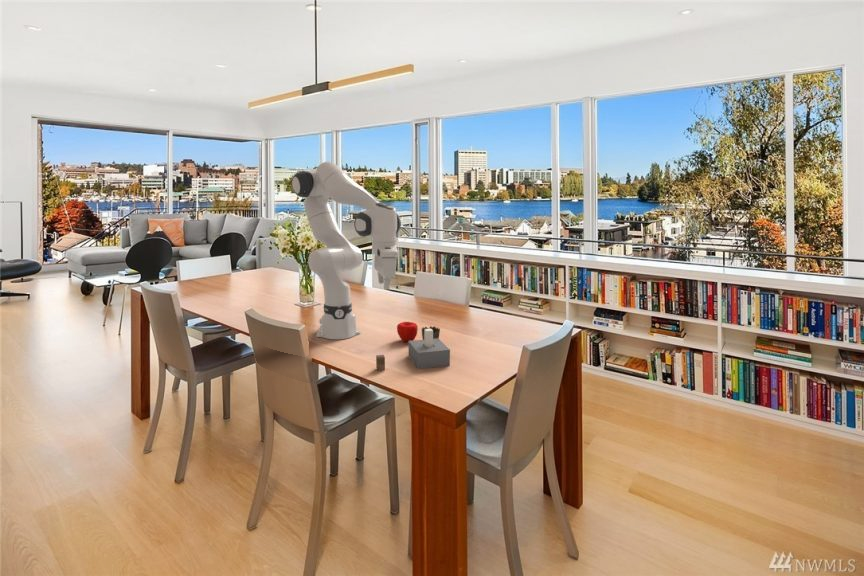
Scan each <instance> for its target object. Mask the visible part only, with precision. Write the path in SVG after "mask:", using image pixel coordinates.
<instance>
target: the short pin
mask: <svg viewBox="0 0 864 576" xmlns="http://www.w3.org/2000/svg"><path fill="white" fill-rule="evenodd" d="M375 358H376V360H375V361H376V368H377V369H376V371H377V370H378V371H377V372H383V371H382V370H385V371H386V361H385V360H386V357H385V355H384V354H376V355H375Z"/></svg>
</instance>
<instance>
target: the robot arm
mask: <svg viewBox="0 0 864 576" xmlns="http://www.w3.org/2000/svg"><path fill="white" fill-rule="evenodd" d="M291 179H292V180H291V185H292V190H293V193H294V194H295V195H296V196H297V197H300V198H305V199H304V210H305V216H306V218H307V222H308V224H309V226H310V230H311V231H312V235H313V237H314V239H315V240H316V241H317V242H320V243H322V244H323V245H324V246H326V247H320V248H317V249H315V250H313V251H311V252H310V253H309V255H308V257H307V263H308V266H309V269H310V271H311V272H312V273H314V274H316V275H317V277H318V278H319V279H320V281H321V284H322V287H323V297H324V298H323V299H324V304H323V315H322V316H321V318H319V325H320V326H319V329H318V331H317V333H316V337H317V338H324V339H328V340H346V339H349V338H352V337H353V338H354V336H356V335H361V330H359V329H358V328H357V319H356V315H355V314H354V313H353V305H352V301H351V286H350V284H349V283H348V282H347V281H345V280H343V279H342V276H341V272H346V271H347V272H348V271H352V270H354V269H356V268H358V267H361V265H362V263H363V260H364V259H363V258H364V257H363V256H364V255H363V252H362V251H361V248H359V247H358V246H357V245H354V244H353V243H352V242H350V241H349V240H348V239H347V238H346V237H345V235H344V234H343V233H342V231H341V229H340V227H339V224H338V222H337V220H336V217H335V214H334V212H333V210H332V207H331V204H330V199H331V200H333V202H335V203H337V204H340V205H349V206H354V207H355V206H356V207H359V208H363V209H364V210H363V211H360V212H358V213H357V215H355V218H354V224H353V225H354V229H355V232H356V233H357V234H358V235H359V236H360V237H363V238H372V239H371V244H372V245H371V253H372V254H373V255H374V263H373V268H374V270H375V271H376V272H377V277H378V278H377V279H378V284H380V285H381V284H383V289H384V290H390V284H391V281H392V280H394V279H395V277H396V273H397V272H396V270H397V258H398V257H399V251H398V243H397V241H398V239H397V234H398V233H399V231H400V229H401V225H402V221H401V218H400V216H399V214H398V213H397V210H396V207H395V206H394V205H393V204H390V203H387V202H386V203H385V202H381V201H380V199H378V198H377V197H376V196H374V195H373V194H372V193H371V192H370V191H369V190H367V189H366V188H364V187H362V186H361V185H359V184H358V183H357V182H355V181H354V180H353V179H352V178H351V177H350V176H348V174H347V173H346V172H345V171H344V170H343V169H342V168H341V167H340V166H339V165H337V164H336V163H334V162H332V161H324V162H321V163H320V164H319V165H318V166H317V168H316V169H313V170H306V171H305V170H302V171H298V172H296V173H295V174H293V176H292V178H291Z"/></svg>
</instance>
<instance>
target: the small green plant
mask: <svg viewBox="0 0 864 576" xmlns="http://www.w3.org/2000/svg"><path fill="white" fill-rule="evenodd" d="M424 329H432V330H433V339H437V338H438V339H439V338H440V331H441V329H440V328H439V327H436V326H435V325H434V326H431V325H430V326H429V328H428V327H427V326H425V327H424V326H423V327H422V328H421V337H422V340H424ZM439 340H440V339H439Z"/></svg>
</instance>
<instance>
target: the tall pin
mask: <svg viewBox="0 0 864 576" xmlns="http://www.w3.org/2000/svg"><path fill="white" fill-rule="evenodd" d="M424 347H433V330H432V329H428V328H427V329H424Z"/></svg>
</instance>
